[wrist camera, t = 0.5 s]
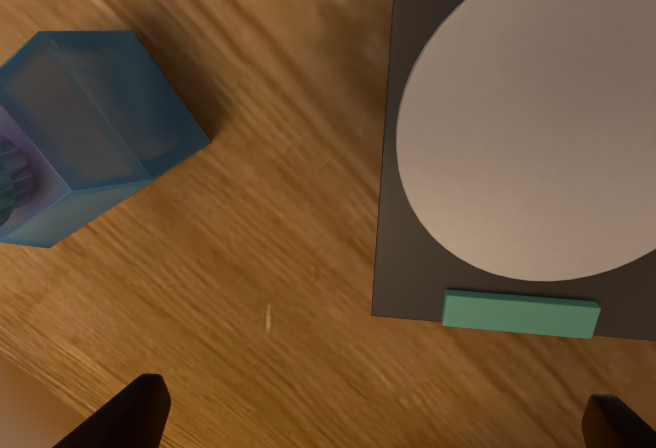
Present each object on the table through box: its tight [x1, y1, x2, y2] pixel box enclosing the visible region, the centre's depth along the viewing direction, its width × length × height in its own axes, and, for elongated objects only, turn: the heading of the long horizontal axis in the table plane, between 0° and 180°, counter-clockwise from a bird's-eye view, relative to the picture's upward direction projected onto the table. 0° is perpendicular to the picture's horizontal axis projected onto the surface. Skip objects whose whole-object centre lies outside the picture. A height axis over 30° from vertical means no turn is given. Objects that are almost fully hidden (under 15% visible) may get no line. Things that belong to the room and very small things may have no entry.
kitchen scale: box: [371, 0, 656, 341], centre depth 19 cm, size 18×14×3 cm
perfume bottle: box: [0, 31, 211, 248], centre depth 17 cm, size 6×6×12 cm
